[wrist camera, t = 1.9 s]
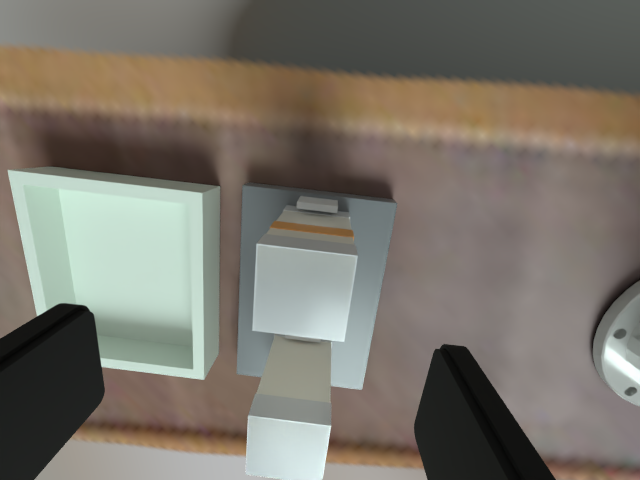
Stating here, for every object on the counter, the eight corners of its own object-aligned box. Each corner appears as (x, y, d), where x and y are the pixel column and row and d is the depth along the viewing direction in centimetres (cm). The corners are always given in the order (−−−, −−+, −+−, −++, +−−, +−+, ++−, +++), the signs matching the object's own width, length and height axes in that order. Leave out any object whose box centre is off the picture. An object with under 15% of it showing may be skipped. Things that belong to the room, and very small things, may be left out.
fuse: (332, 330, 23) (330, 426, 15) (326, 375, 24) (321, 484, 16) (277, 323, 23) (248, 415, 15) (274, 368, 24) (245, 474, 16)
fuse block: (393, 199, 21) (404, 210, 18) (360, 375, 26) (364, 410, 22) (248, 182, 21) (232, 189, 18) (242, 361, 26) (228, 393, 22)
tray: (220, 186, 21) (202, 192, 18) (218, 353, 26) (204, 379, 23) (51, 166, 21) (7, 170, 19) (78, 335, 26) (46, 359, 23)
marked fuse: (349, 212, 20) (357, 255, 12) (341, 270, 21) (344, 341, 13) (286, 205, 20) (256, 243, 12) (282, 263, 21) (252, 330, 14)
